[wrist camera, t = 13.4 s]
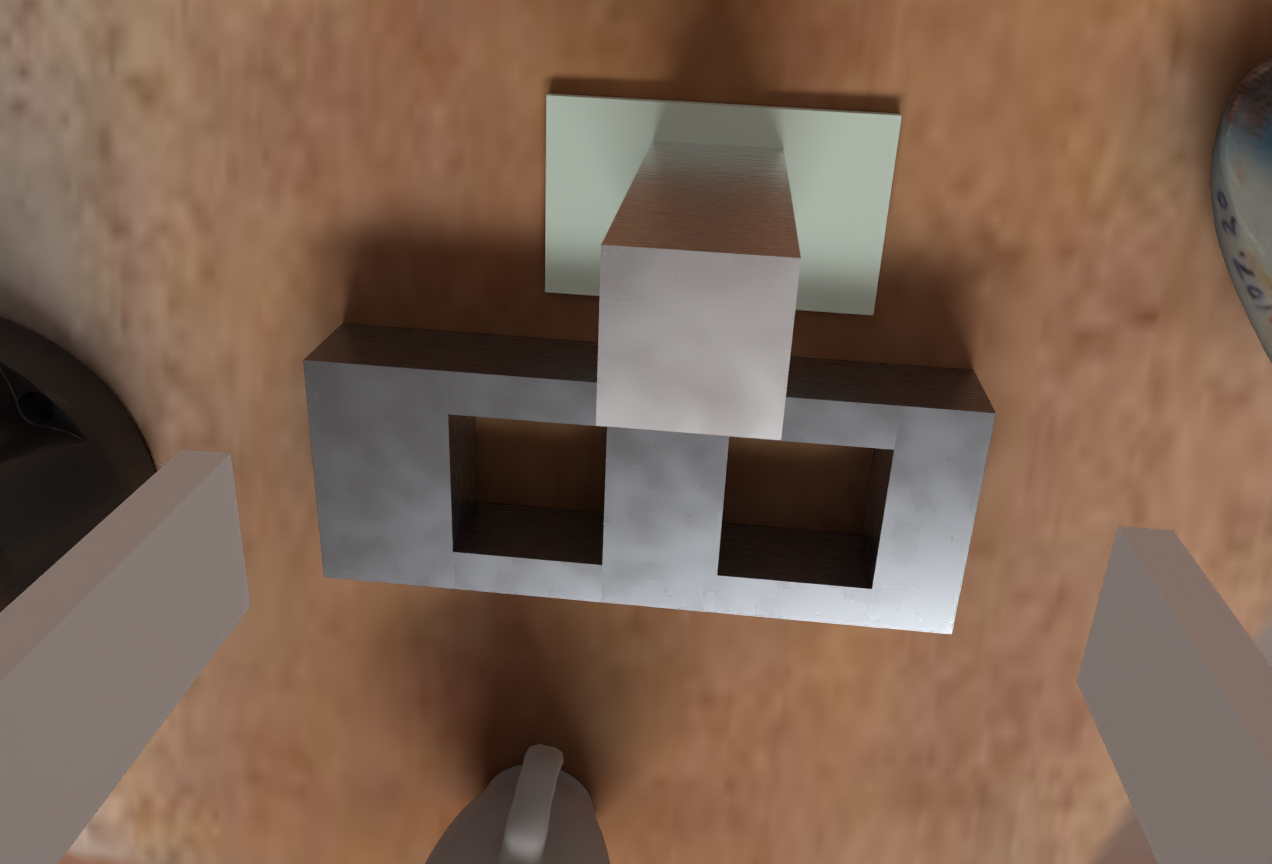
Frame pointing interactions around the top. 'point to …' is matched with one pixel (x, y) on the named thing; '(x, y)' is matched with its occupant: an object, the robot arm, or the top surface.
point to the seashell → (1247, 195)
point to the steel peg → (699, 294)
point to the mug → (526, 819)
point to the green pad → (812, 140)
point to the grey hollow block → (637, 484)
